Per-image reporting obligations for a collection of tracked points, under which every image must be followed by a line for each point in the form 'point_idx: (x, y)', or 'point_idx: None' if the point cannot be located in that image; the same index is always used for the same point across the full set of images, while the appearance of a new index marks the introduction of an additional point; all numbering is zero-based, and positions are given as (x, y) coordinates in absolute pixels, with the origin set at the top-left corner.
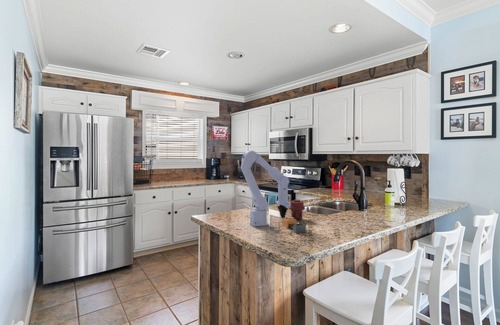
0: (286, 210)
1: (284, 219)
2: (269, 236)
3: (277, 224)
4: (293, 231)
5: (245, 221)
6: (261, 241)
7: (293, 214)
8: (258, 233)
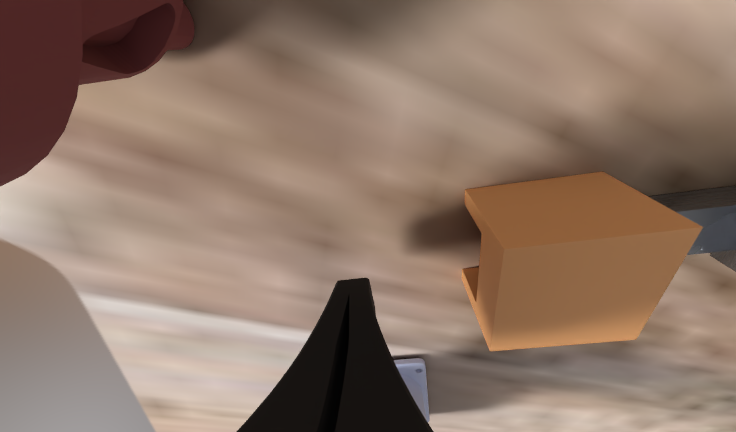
0: (407, 391)
1: (550, 343)
2: (663, 392)
3: (404, 302)
4: (726, 257)
5: None
6: (703, 424)
7: (90, 55)
8: (568, 416)
